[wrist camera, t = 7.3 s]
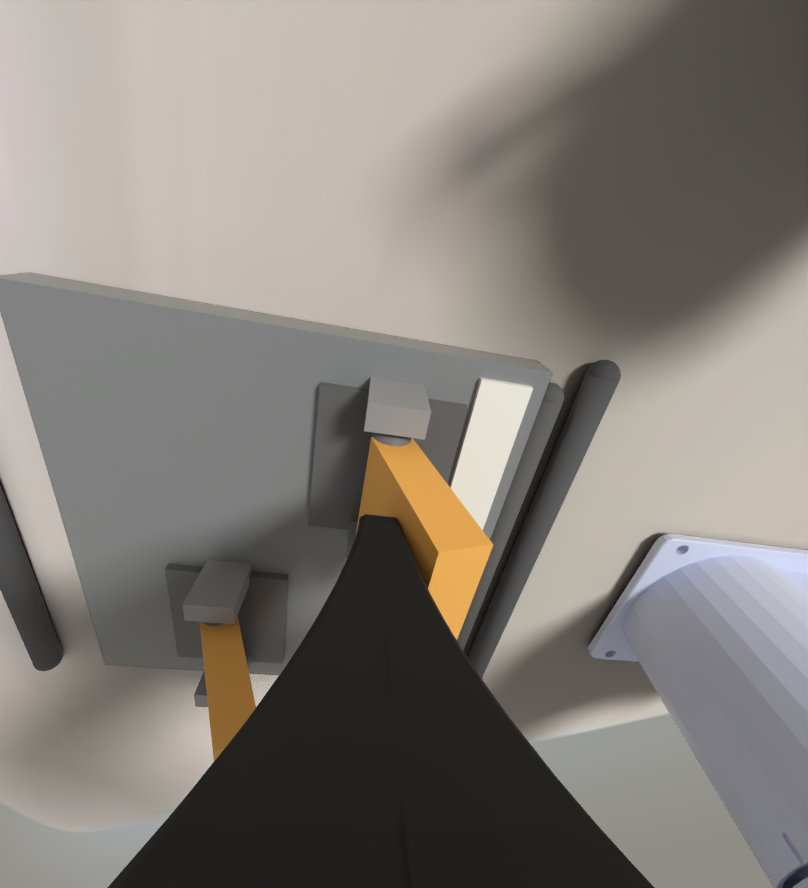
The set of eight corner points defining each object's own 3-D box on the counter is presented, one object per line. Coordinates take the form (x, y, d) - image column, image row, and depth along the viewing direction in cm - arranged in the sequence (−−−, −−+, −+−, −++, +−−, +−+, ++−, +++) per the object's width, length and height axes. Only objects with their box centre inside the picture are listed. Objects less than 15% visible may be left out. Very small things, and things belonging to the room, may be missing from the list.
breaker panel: (538, 361, 12) (582, 397, 10) (433, 661, 20) (441, 731, 17) (28, 272, 11) (-99, 285, 8) (121, 639, 18) (72, 713, 15)
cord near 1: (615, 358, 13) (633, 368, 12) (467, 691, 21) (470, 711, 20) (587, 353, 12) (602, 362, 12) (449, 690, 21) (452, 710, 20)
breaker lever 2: (405, 421, 11) (496, 536, 7) (384, 525, 13) (448, 663, 9) (366, 421, 11) (441, 544, 7) (350, 529, 13) (402, 675, 9)
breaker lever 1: (233, 592, 14) (260, 727, 11) (235, 657, 16) (259, 791, 13) (197, 601, 14) (213, 748, 10) (204, 668, 16) (219, 812, 12)
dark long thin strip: (561, 380, 13) (574, 391, 12) (445, 679, 21) (447, 699, 20) (533, 375, 13) (544, 386, 12) (427, 678, 21) (429, 697, 20)
